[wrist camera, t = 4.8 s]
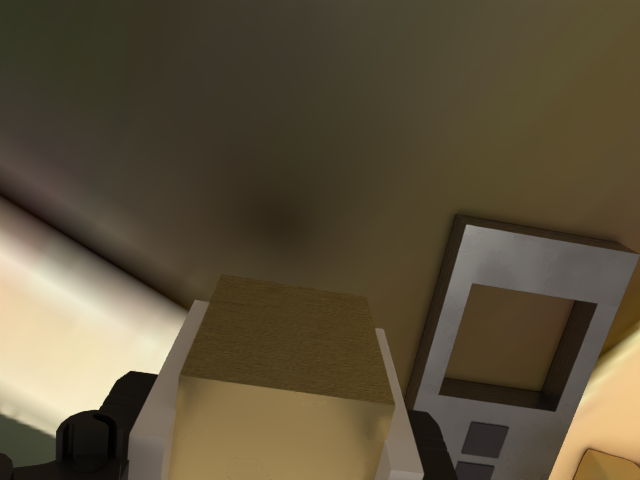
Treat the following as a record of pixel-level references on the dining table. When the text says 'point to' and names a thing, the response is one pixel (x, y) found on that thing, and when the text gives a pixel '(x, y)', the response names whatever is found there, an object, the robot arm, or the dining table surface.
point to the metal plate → (569, 362)
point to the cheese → (606, 468)
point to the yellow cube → (281, 387)
